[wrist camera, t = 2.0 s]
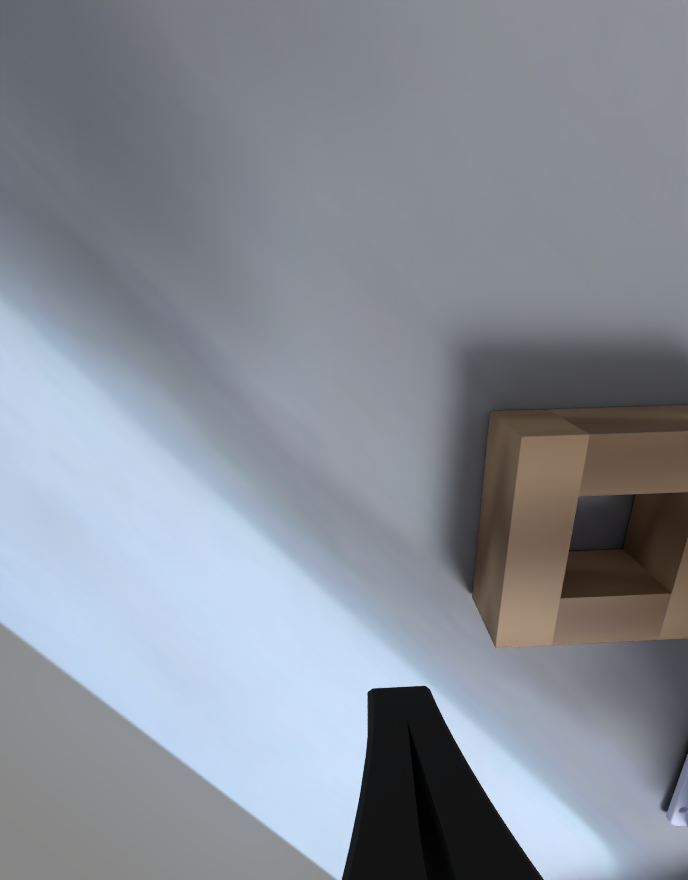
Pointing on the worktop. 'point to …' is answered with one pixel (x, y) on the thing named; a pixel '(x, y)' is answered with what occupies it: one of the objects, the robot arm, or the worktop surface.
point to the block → (552, 518)
